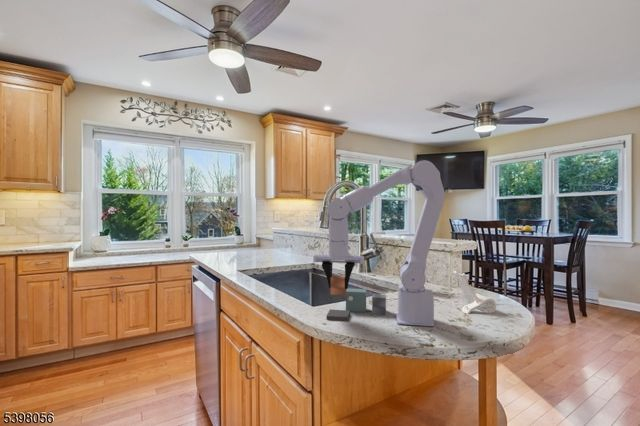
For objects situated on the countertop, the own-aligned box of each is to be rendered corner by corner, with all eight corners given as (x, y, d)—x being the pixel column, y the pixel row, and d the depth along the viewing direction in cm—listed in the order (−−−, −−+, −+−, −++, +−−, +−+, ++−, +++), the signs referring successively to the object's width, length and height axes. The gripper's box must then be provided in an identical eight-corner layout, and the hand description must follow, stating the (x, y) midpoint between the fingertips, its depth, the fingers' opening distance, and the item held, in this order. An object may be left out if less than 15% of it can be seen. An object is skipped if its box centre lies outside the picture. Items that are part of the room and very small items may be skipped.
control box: (366, 307, 101) (366, 289, 101) (365, 312, 96) (365, 292, 96) (347, 306, 102) (347, 288, 102) (345, 311, 97) (345, 292, 97)
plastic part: (496, 312, 97) (496, 274, 97) (466, 314, 95) (467, 275, 95) (479, 305, 104) (479, 269, 104) (451, 306, 102) (452, 270, 102)
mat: (349, 313, 95) (349, 310, 95) (347, 320, 89) (347, 317, 89) (330, 312, 96) (330, 309, 96) (326, 319, 91) (326, 315, 91)
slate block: (385, 310, 99) (385, 294, 99) (385, 314, 95) (385, 298, 95) (372, 309, 99) (372, 293, 99) (372, 314, 95) (372, 297, 95)
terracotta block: (346, 291, 94) (346, 275, 94) (344, 295, 90) (344, 277, 90) (332, 291, 95) (332, 274, 95) (330, 294, 91) (330, 277, 91)
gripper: (364, 240, 95) (364, 285, 95) (316, 239, 98) (316, 283, 98) (363, 242, 88) (363, 291, 88) (311, 241, 91) (311, 288, 91)
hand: (338, 287), depth 93 cm, fingers closed on terracotta block, 4 cm apart
